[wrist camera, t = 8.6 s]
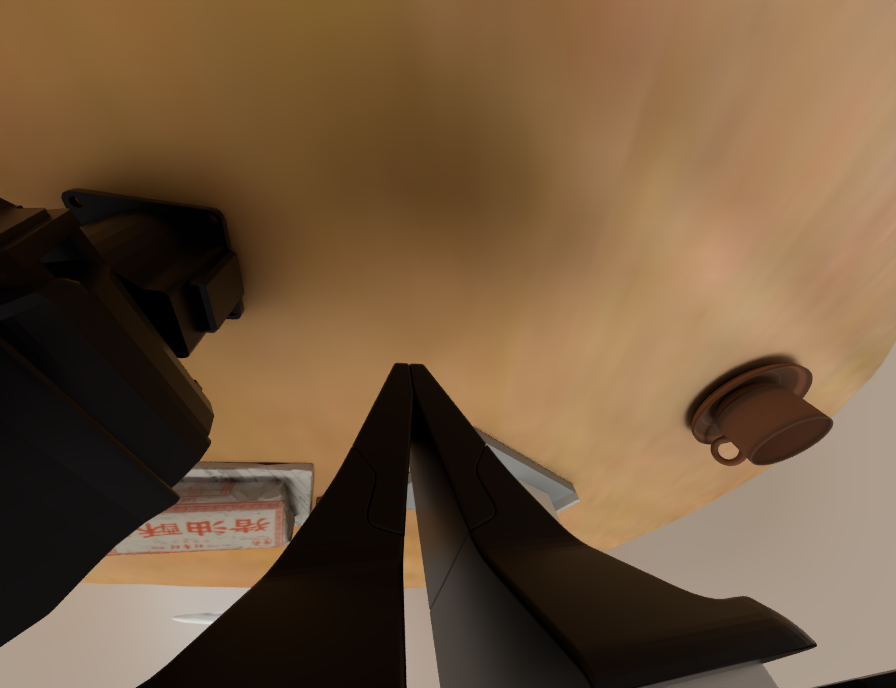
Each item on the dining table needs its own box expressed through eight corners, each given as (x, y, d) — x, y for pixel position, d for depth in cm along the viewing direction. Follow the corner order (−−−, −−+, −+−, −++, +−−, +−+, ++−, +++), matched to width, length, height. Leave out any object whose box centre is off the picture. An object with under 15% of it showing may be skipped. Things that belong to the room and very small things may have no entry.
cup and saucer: (742, 428, 40) (792, 473, 35) (661, 433, 38) (702, 483, 33) (819, 353, 33) (894, 396, 28) (725, 353, 31) (789, 401, 26)
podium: (384, 490, 35) (385, 510, 33) (472, 426, 31) (477, 446, 29) (495, 527, 46) (499, 544, 44) (572, 484, 41) (580, 501, 40)
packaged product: (76, 573, 27) (21, 515, 22) (114, 516, 31) (75, 454, 26) (304, 559, 32) (305, 509, 27) (312, 511, 36) (315, 458, 31)
